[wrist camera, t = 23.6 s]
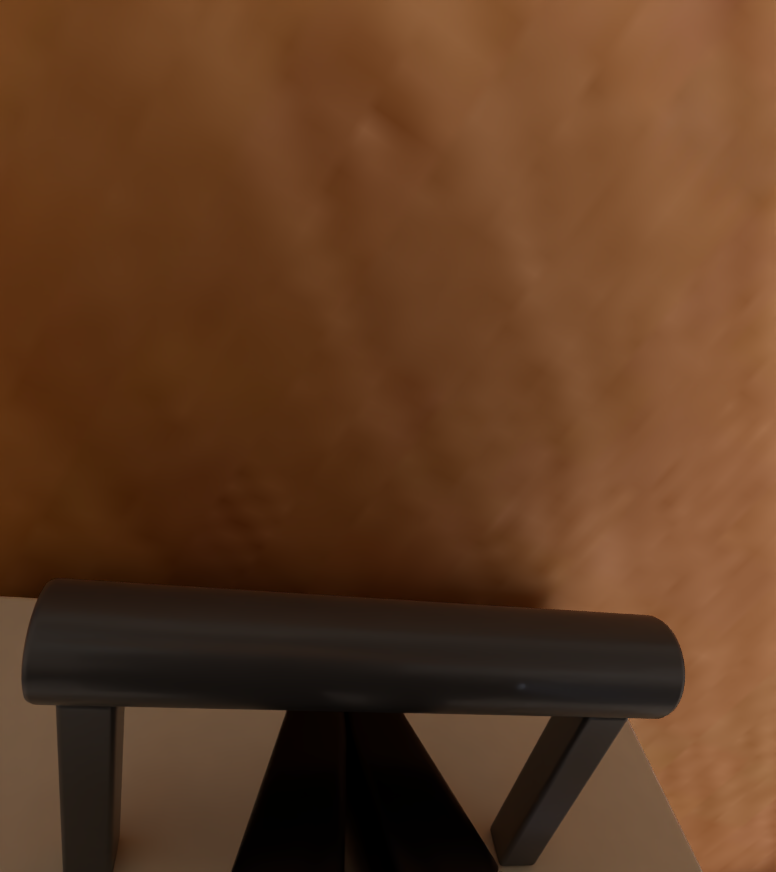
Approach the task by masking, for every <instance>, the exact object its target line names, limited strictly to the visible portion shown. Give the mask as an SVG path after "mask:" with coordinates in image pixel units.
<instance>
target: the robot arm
mask: <svg viewBox="0 0 776 872" xmlns="http://www.w3.org/2000/svg"><path fill="white" fill-rule="evenodd" d="M498 870H499V866H498V864H497V862H496V861H495V859H494V858H493V856H492V854H491V853H490V851H489V850H488V848H487V846H486V845H485V843H484V842H483V840H482V838H481V837H480V835H479V834H478V832H477V830H476V829H475V827H474V826H473V824H472V822H471V821H470V819H469V818H468V816H467V814H466V813H465V811H464V810H463V808H462V806H461V805H460V803H459V802H458V800H457V798H456V797H455V795H454V794H453V792H452V790H451V789H450V787H449V786H448V784H447V782H446V781H445V779H444V778H443V776H442V774H441V773H440V771H439V769H438V768H437V766H436V765H435V763H434V761H433V760H432V758H431V757H430V755H429V753H428V752H427V750H426V749H425V747H424V745H423V744H422V742H421V741H420V739H419V737H418V736H417V734H416V733H415V731H414V729H413V728H412V726H411V725H410V723H409V721H408V720H407V718H406V717H405V715H404V713H377V712H333V711H288V710H287V711H286V713H285V716H284V719H283V722H282V725H281V728H280V731H279V734H278V737H277V740H276V742H275V745H274V748H273V751H272V754H271V757H270V760H269V763H268V766H267V769H266V772H265V774H264V777H263V780H262V783H261V786H260V789H259V792H258V795H257V798H256V801H255V803H254V806H253V809H252V812H251V815H250V818H249V821H248V824H247V827H246V830H245V832H244V835H243V838H242V841H241V844H240V847H239V850H238V853H237V856H236V859H235V862H234V864H233V867H232V870H231V872H498Z"/></svg>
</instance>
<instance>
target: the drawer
mask: <svg viewBox="0 0 776 872" xmlns="http://www.w3.org/2000/svg"><path fill="white" fill-rule="evenodd" d="M684 683H685V666H684V659H683V655H682V651H681V648H680V645H679V643H678V641H677V638H676V637H675V635H674V633H673V632H672V630H671V629H670V628H669V627H668V626H667V625H666V624H665V623H664V622H662V621H661V620H659V619H657V618H655V617H653V616H649V615H634V614H618V613H603V612H587V611H571V610H555V609H539V608H523V607H508V606H492V605H476V604H460V603H444V602H429V601H413V600H397V599H381V598H365V597H349V596H334V595H318V594H302V593H286V592H270V591H255V590H239V589H223V588H207V587H191V586H175V585H160V584H144V583H128V582H112V581H96V580H81V579H65V578H57V579H54V580H50V581H49V582H47V584H46V585H45V586H44V588H43V590H42V591H41V593H40V595H39V597H38V598H24V597H7V596H0V872H231V870H232V867H233V864H234V862H235V859H236V856H237V853H238V850H239V847H240V844H241V841H242V838H243V835H244V832H245V830H246V827H247V824H248V821H249V818H250V815H251V812H252V809H253V806H254V803H255V801H256V798H257V795H258V792H259V789H260V786H261V783H262V780H263V777H264V774H265V772H266V769H267V766H268V763H269V760H270V757H271V754H272V751H273V748H274V745H275V742H276V740H277V737H278V734H279V731H280V728H281V725H282V722H283V719H284V716H285V713H286V711H287V710H288V711H333V712H377V713H404V715H405V717H406V718H407V720H408V721H409V723H410V725H411V726H412V728H413V729H414V731H415V733H416V734H417V736H418V737H419V739H420V741H421V742H422V744H423V745H424V747H425V749H426V750H427V752H428V753H429V755H430V757H431V758H432V760H433V761H434V763H435V765H436V766H437V768H438V769H439V771H440V773H441V774H442V776H443V778H444V779H445V781H446V782H447V784H448V786H449V787H450V789H451V790H452V792H453V794H454V795H455V797H456V798H457V800H458V802H459V803H460V805H461V806H462V808H463V810H464V811H465V813H466V814H467V816H468V818H469V819H470V821H471V822H472V824H473V826H474V827H475V829H476V830H477V832H478V834H479V835H480V837H481V838H482V840H483V842H484V843H485V845H486V846H487V848H488V850H489V851H490V853H491V854H492V856H493V858H494V859H495V861H496V862H497V864H498V866H499V870H498V872H702V870H701V867H700V865H699V863H698V861H697V859H696V857H695V855H694V853H693V851H692V849H691V847H690V845H689V843H688V841H687V839H686V837H685V835H684V833H683V831H682V829H681V827H680V825H679V822H678V820H677V818H676V816H675V814H674V812H673V810H672V808H671V806H670V804H669V802H668V800H667V798H666V796H665V794H664V792H663V790H662V788H661V786H660V784H659V782H658V780H657V777H656V775H655V773H654V771H653V769H652V767H651V765H650V763H649V761H648V759H647V757H646V755H645V753H644V751H643V749H642V747H641V745H640V743H639V741H638V739H637V737H636V735H635V733H634V730H633V728H632V726H631V724H630V722H629V720H628V718H646V719H659V718H662V717H664V716H666V715H668V714H670V713H671V712H672V711H674V709H675V708H676V707H677V705H678V704H679V702H680V699H681V697H682V694H683V690H684Z"/></svg>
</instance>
